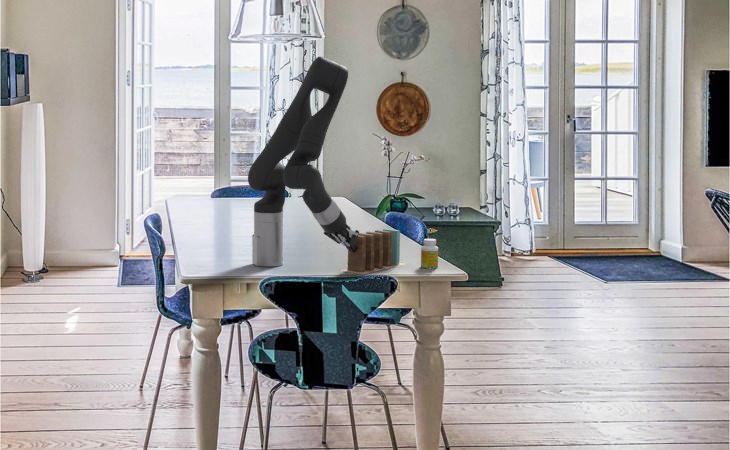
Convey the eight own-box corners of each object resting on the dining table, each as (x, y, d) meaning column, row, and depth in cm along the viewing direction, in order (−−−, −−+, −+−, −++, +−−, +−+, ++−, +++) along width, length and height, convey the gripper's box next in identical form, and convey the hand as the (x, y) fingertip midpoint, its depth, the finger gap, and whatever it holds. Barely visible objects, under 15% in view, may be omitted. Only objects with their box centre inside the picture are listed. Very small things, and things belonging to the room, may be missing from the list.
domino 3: (379, 268, 266) (380, 233, 264) (365, 266, 269) (366, 232, 268) (382, 267, 267) (383, 233, 266) (368, 265, 271) (369, 231, 269)
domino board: (361, 276, 256) (361, 274, 256) (338, 273, 262) (338, 270, 262) (407, 266, 275) (407, 263, 275) (385, 262, 280) (385, 260, 280)
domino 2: (370, 270, 262) (371, 235, 261) (356, 268, 266) (357, 233, 264) (373, 269, 264) (374, 234, 262) (359, 267, 267) (360, 233, 266)
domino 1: (361, 272, 259) (362, 236, 258) (347, 270, 262) (348, 234, 261) (365, 271, 260) (365, 236, 259) (350, 269, 264) (351, 234, 262)
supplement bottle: (428, 272, 266) (429, 241, 264) (417, 269, 270) (417, 239, 269) (441, 270, 269) (442, 240, 268) (430, 267, 273) (430, 237, 272)
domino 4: (388, 266, 269) (388, 232, 268) (374, 264, 273) (374, 230, 271) (391, 265, 271) (391, 231, 269) (377, 263, 274) (377, 230, 273)
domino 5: (396, 264, 273) (397, 230, 271) (382, 262, 276) (383, 229, 275) (399, 264, 274) (400, 230, 273) (385, 262, 278) (386, 228, 276)
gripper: (351, 206, 246) (376, 243, 257) (317, 202, 254) (343, 238, 265) (339, 226, 242) (365, 263, 254) (305, 222, 251) (331, 257, 262)
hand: (353, 250), depth 259 cm, fingers closed
